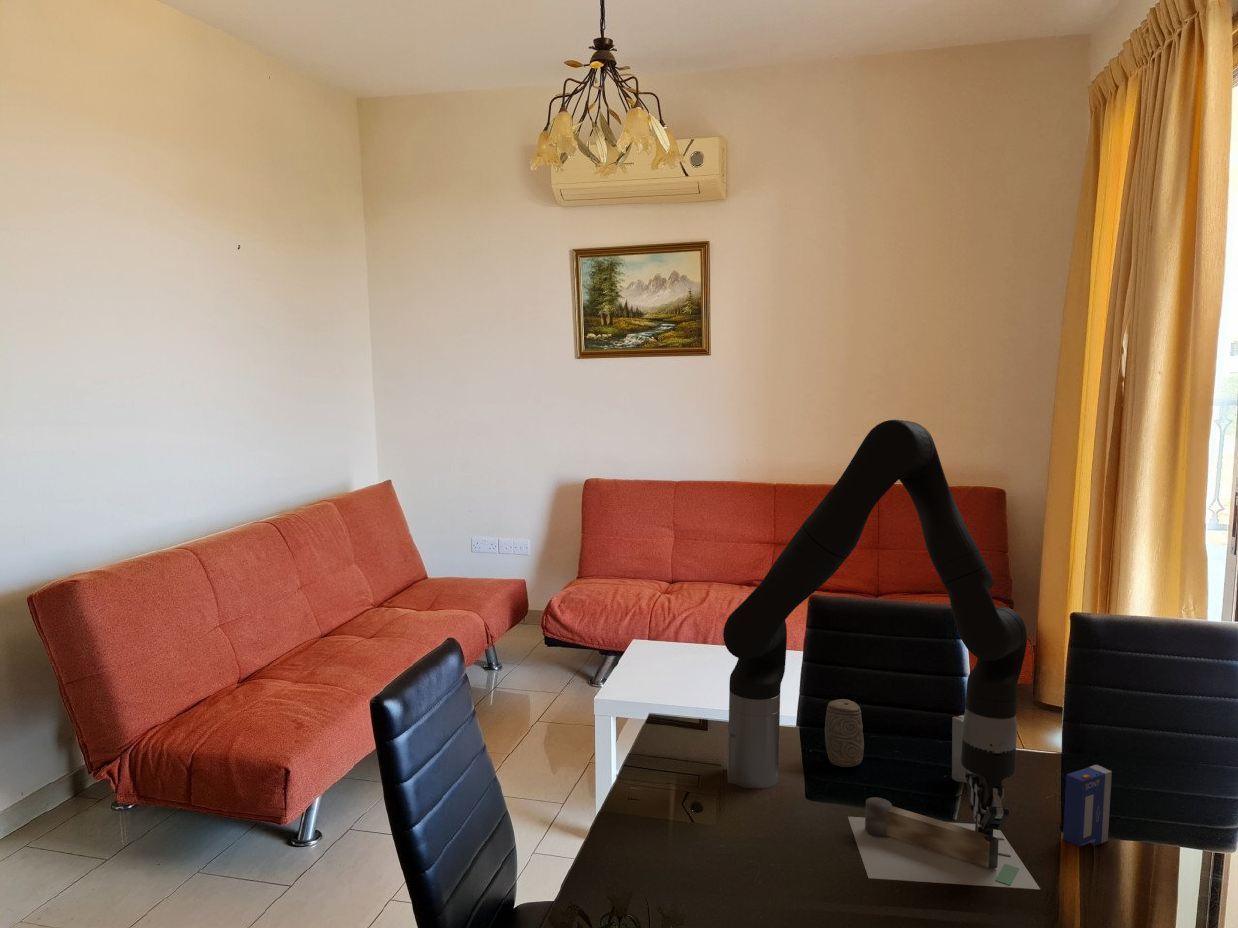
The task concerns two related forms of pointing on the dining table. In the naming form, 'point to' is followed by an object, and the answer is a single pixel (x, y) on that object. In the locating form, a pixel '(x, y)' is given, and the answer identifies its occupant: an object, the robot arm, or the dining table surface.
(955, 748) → the skincare box
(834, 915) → the dining table surface
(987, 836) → the pointer lever
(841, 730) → the carving
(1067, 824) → the walkman
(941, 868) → the dial plate
